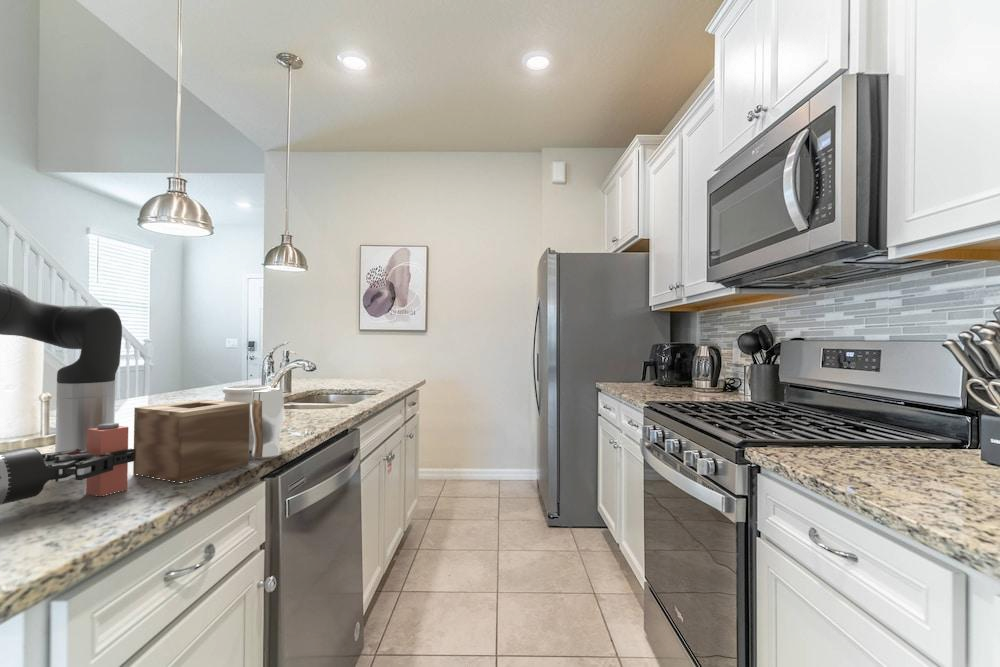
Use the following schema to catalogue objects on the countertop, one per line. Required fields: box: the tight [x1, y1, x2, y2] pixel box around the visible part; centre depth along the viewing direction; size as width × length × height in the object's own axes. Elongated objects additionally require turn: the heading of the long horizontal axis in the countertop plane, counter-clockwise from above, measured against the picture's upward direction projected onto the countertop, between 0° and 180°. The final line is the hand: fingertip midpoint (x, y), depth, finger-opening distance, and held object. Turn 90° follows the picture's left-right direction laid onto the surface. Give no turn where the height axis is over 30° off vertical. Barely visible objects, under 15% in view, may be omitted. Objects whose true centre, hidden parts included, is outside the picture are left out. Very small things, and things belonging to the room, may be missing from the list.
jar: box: [222, 384, 272, 453], centre depth 112 cm, size 11×10×15 cm
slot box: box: [132, 398, 250, 482], centre depth 94 cm, size 14×14×13 cm
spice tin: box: [85, 422, 129, 497], centre depth 80 cm, size 4×4×12 cm
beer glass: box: [250, 387, 285, 460], centre depth 105 cm, size 7×7×15 cm
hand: (125, 453), depth 82 cm, fingers closed on spice tin, 4 cm apart
